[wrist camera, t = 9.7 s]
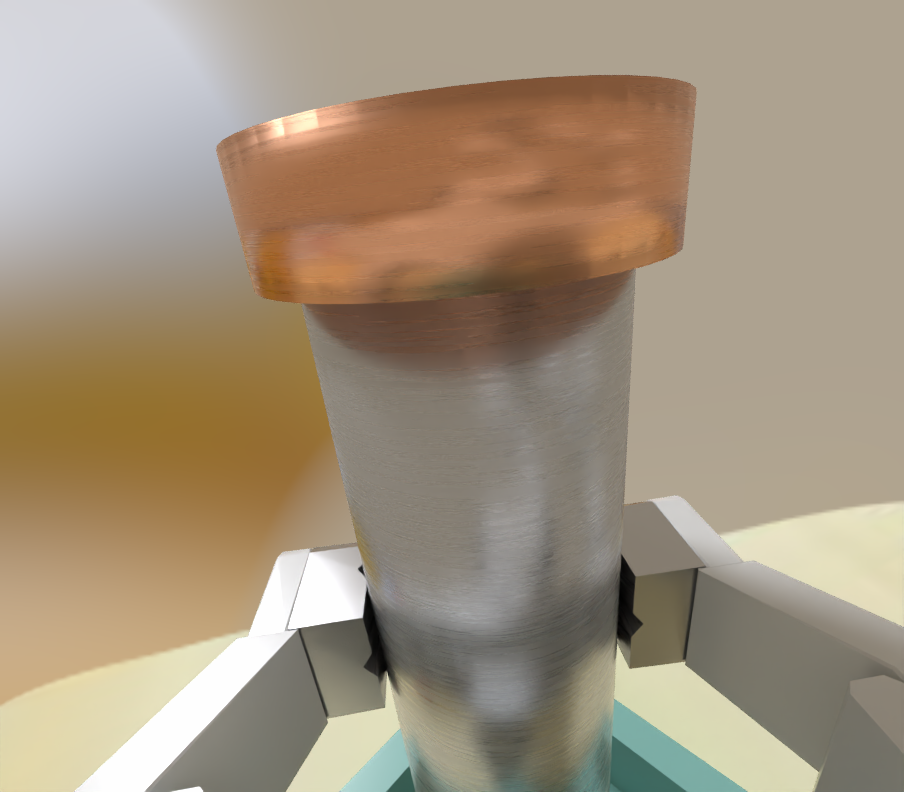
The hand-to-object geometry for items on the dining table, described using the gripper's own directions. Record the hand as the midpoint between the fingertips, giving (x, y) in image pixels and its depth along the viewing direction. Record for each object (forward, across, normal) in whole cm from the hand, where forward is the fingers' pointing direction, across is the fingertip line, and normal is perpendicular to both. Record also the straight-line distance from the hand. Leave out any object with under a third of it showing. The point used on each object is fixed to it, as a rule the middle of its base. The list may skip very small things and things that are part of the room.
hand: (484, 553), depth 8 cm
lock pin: (-1, 0, +8) cm, 8 cm away
